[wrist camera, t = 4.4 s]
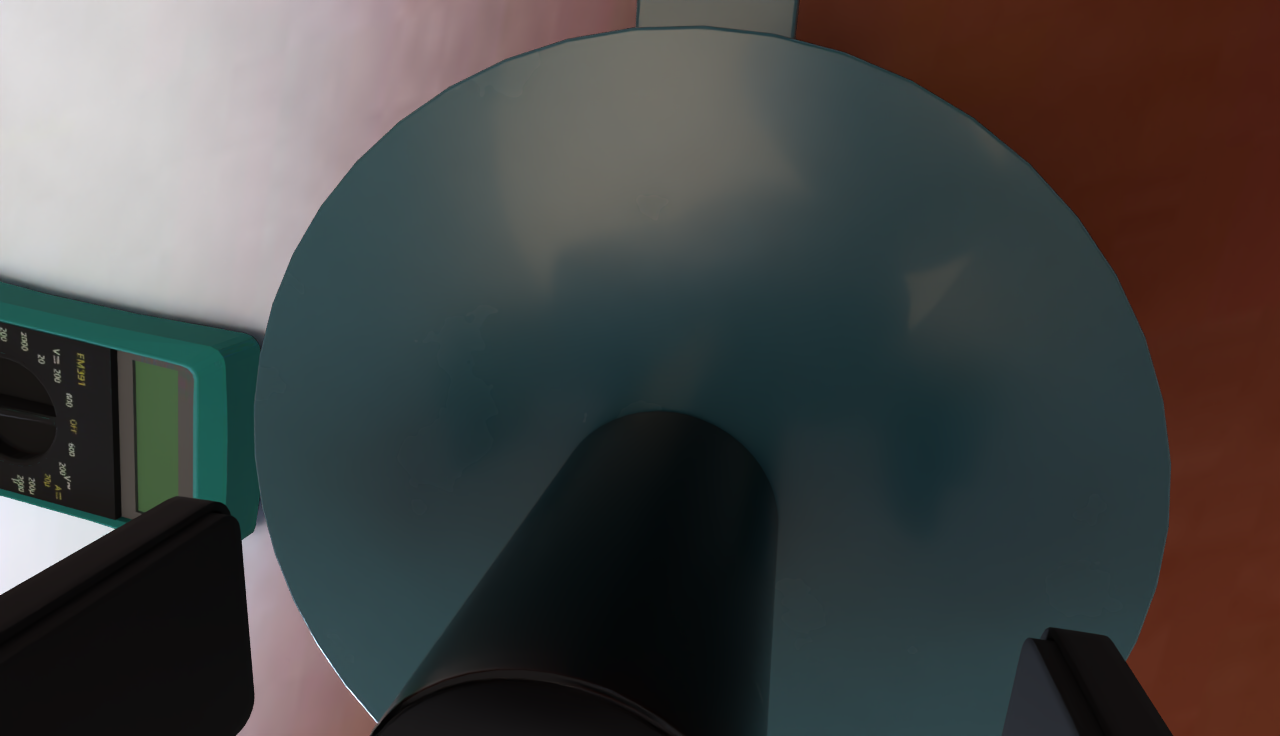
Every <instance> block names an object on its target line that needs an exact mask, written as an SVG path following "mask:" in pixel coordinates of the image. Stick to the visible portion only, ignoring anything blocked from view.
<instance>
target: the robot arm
mask: <svg viewBox="0 0 1280 736" xmlns="http://www.w3.org/2000/svg"><path fill="white" fill-rule="evenodd" d="M253 705H254V684H253V672H252V660H251V648H250V636H249V624H248V612H247V600H246V589H245V577H244V565H243V553H242V541H241V529H240V525H239V522H238V520H237V519H236V518H235V517H233V516H231V513H230V511H229V509H228V507H227V506H226V505H224V504H223V503H221V502H216V501H210V500H203V499H196V498H190V497H183V496H175V497H172V498H170V499H167V500H166V501H164V502H162V503H160V504H159V505H157V506H155V507H153V508H152V509H150V510H148V511H146V512H145V513H143V514H141V515H139V516H138V517H136V518H134V519H132V520H131V521H129V522H127V523H125V524H124V525H122V526H120V527H118V528H117V529H115V530H113V531H111V532H110V533H108V534H106V535H105V536H103V537H101V538H99V539H98V540H96V541H94V542H92V543H91V544H89V545H87V546H85V547H84V548H82V549H80V550H78V551H77V552H75V553H73V554H71V555H70V556H68V557H66V558H64V559H63V560H61V561H59V562H57V563H56V564H54V565H52V566H50V567H49V568H47V569H45V570H43V571H42V572H40V573H38V574H36V575H35V576H33V577H31V578H29V579H28V580H26V581H24V582H22V583H21V584H19V585H17V586H15V587H14V588H12V589H10V590H9V591H7V592H5V593H3V594H2V595H0V736H236V735H237V734H238V733H239V732H240V731H241V730H242V728H243V727H244V726H245V724H246V723H247V721H248V719H249V717H250V715H251V712H252V709H253ZM1002 736H1173V735H1172V733H1171V732H1170V730H1169V729H1168V727H1167V725H1166V724H1165V722H1164V721H1163V719H1162V718H1161V716H1160V715H1159V713H1158V711H1157V710H1156V708H1155V707H1154V705H1153V704H1152V702H1151V700H1150V699H1149V697H1148V696H1147V694H1146V693H1145V691H1144V690H1143V688H1142V686H1141V685H1140V683H1139V682H1138V680H1137V679H1136V677H1135V676H1134V674H1133V672H1132V671H1131V669H1130V668H1129V666H1128V665H1127V663H1126V661H1125V660H1124V658H1123V657H1122V655H1121V654H1120V652H1119V651H1118V649H1117V647H1116V646H1115V644H1114V643H1113V641H1112V640H1111V639H1110V638H1109V637H1108V636H1105V635H1100V634H1094V633H1087V632H1080V631H1074V630H1067V629H1060V628H1054V627H1048V628H1047V629H1045V631H1044V632H1043V634H1042V635H1041V638H1040V639H1035V638H1027V639H1026V640H1025V642H1024V643H1023V646H1022V649H1021V653H1020V657H1019V661H1018V666H1017V670H1016V675H1015V679H1014V683H1013V688H1012V692H1011V697H1010V701H1009V705H1008V710H1007V714H1006V718H1005V723H1004V727H1003V732H1002Z"/></svg>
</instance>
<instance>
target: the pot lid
mask: <svg viewBox="0 0 1280 736" xmlns="http://www.w3.org/2000/svg"><path fill="white" fill-rule="evenodd" d="M254 435H255V461H256V468H257V475H258V482H259V489H260V496H261V503H262V508H263V512H264V515H265V519H266V523H267V527H268V530H269V534H270V538H271V541H272V545H273V549H274V552H275V556H276V558H277V561H278V563H279V566H280V568H281V571H282V573H283V576H284V578H285V581H286V583H287V586H288V588H289V591H290V593H291V596H292V598H293V601H294V602H295V604H296V606H297V608H298V610H299V612H300V614H301V616H302V617H303V619H304V621H305V623H306V625H307V627H308V629H309V630H310V632H311V634H312V636H313V638H314V640H315V642H316V643H317V645H318V647H319V648H320V649H321V651H322V652H323V654H324V655H325V657H326V658H327V660H328V661H329V663H330V664H331V666H332V667H333V668H334V670H335V671H336V673H337V674H338V676H339V677H340V679H341V680H342V682H343V683H344V684H345V686H346V687H347V688H348V689H349V690H350V692H351V693H352V694H353V695H354V696H355V697H356V699H357V700H358V701H359V702H360V703H361V705H362V706H363V707H364V708H365V709H366V710H367V712H368V713H369V714H370V715H371V716H372V717H373V719H374V720H375V721H376V722H377V725H376V726H375V728H374V729H373V731H372V732H371V734H370V736H1002V732H1003V727H1004V723H1005V718H1006V714H1007V710H1008V705H1009V701H1010V697H1011V692H1012V688H1013V683H1014V679H1015V675H1016V670H1017V666H1018V661H1019V657H1020V653H1021V649H1022V646H1023V643H1024V642H1025V640H1026V639H1027V638H1035V639H1040V638H1041V635H1042V634H1043V632H1044V631H1045V629H1047V628H1048V627H1054V628H1060V629H1067V630H1074V631H1080V632H1087V633H1094V634H1100V635H1105V636H1108V637H1109V638H1110V639H1111V640H1112V641H1113V643H1114V644H1115V646H1116V647H1117V649H1118V651H1119V652H1120V654H1121V655H1122V657H1123V658H1124V660H1125V661H1126V660H1127V658H1128V656H1129V655H1130V653H1131V651H1132V649H1133V647H1134V645H1135V644H1136V642H1137V639H1138V637H1139V634H1140V631H1141V628H1142V626H1143V623H1144V620H1145V617H1146V615H1147V612H1148V609H1149V606H1150V604H1151V601H1152V598H1153V595H1154V593H1155V590H1156V587H1157V583H1158V578H1159V573H1160V568H1161V563H1162V558H1163V553H1164V548H1165V543H1166V537H1167V532H1168V527H1169V503H1170V476H1171V460H1170V452H1169V443H1168V435H1167V427H1166V419H1165V411H1164V402H1163V398H1162V394H1161V391H1160V387H1159V384H1158V380H1157V377H1156V373H1155V370H1154V366H1153V363H1152V359H1151V356H1150V352H1149V349H1148V345H1147V342H1146V338H1145V335H1144V333H1143V331H1142V329H1141V327H1140V325H1139V322H1138V320H1137V318H1136V316H1135V314H1134V312H1133V309H1132V307H1131V305H1130V303H1129V301H1128V299H1127V297H1126V294H1125V292H1124V290H1123V288H1122V286H1121V284H1120V281H1119V279H1118V277H1117V275H1116V273H1115V272H1114V270H1113V269H1112V267H1111V266H1110V264H1109V263H1108V261H1107V260H1106V258H1105V257H1104V255H1103V254H1102V252H1101V251H1100V249H1099V248H1098V246H1097V245H1096V243H1095V242H1094V240H1093V239H1092V237H1091V236H1090V234H1089V233H1088V231H1087V230H1086V228H1085V227H1084V225H1083V224H1082V222H1081V221H1080V219H1079V218H1078V216H1077V215H1076V214H1075V213H1074V212H1073V211H1072V210H1071V209H1070V207H1069V206H1068V205H1067V204H1066V203H1065V202H1064V201H1063V200H1062V199H1061V198H1060V196H1059V195H1058V194H1057V193H1056V192H1055V191H1054V190H1053V189H1052V188H1051V187H1050V185H1049V184H1048V183H1047V182H1046V181H1045V180H1044V179H1043V178H1042V177H1041V176H1040V174H1039V173H1038V172H1037V171H1036V170H1035V169H1034V168H1033V167H1032V166H1031V164H1030V163H1028V162H1027V161H1026V160H1025V159H1023V158H1022V157H1021V156H1020V155H1019V154H1017V153H1016V152H1015V151H1014V150H1012V149H1011V148H1010V147H1009V146H1008V145H1006V144H1005V143H1004V142H1003V141H1001V140H1000V139H999V138H998V137H997V136H995V135H994V134H993V133H992V132H991V131H989V130H988V129H987V128H986V127H984V126H983V125H982V124H981V123H980V122H978V121H977V120H976V119H975V118H973V117H972V116H970V115H968V114H967V113H965V112H963V111H962V110H960V109H958V108H957V107H955V106H953V105H952V104H950V103H948V102H947V101H945V100H943V99H942V98H940V97H938V96H937V95H935V94H933V93H932V92H930V91H928V90H927V89H925V88H924V87H922V86H920V85H919V84H917V83H915V82H914V81H912V80H910V79H907V78H905V77H903V76H900V75H898V74H895V73H893V72H891V71H888V70H886V69H884V68H881V67H879V66H877V65H874V64H872V63H869V62H867V61H865V60H862V59H860V58H858V57H855V56H853V55H850V54H848V53H846V52H843V51H839V50H835V49H831V48H828V47H824V46H820V45H816V44H812V43H808V42H805V41H801V40H797V39H793V38H789V37H786V36H782V35H778V34H774V33H765V32H757V31H748V30H739V29H731V28H722V27H714V26H705V25H699V26H662V27H633V28H627V29H621V30H615V31H610V32H604V33H598V34H592V35H586V36H581V37H575V38H569V39H565V40H562V41H559V42H556V43H553V44H550V45H547V46H544V47H541V48H538V49H535V50H532V51H528V52H525V53H522V54H519V55H516V56H513V57H510V58H507V59H505V60H502V61H500V62H498V63H496V64H494V65H492V66H490V67H488V68H486V69H484V70H482V71H480V72H478V73H476V74H474V75H472V76H470V77H468V78H466V79H464V80H462V81H460V82H458V83H456V84H454V85H452V86H450V87H448V88H447V89H445V90H444V91H443V92H441V93H440V94H438V95H437V96H435V97H434V98H432V99H431V100H430V101H428V102H427V103H425V104H424V105H422V106H421V107H419V108H418V109H417V110H415V111H414V112H412V113H411V114H409V115H408V116H406V117H405V118H404V119H402V120H401V121H399V122H398V123H397V124H396V125H395V126H394V127H393V128H392V129H391V130H390V131H389V132H387V133H386V134H385V135H384V136H383V137H382V138H381V139H380V140H379V141H378V142H377V143H376V144H375V145H374V146H373V147H371V148H370V149H369V150H368V151H367V152H366V153H365V154H364V155H363V156H362V157H361V158H360V159H359V160H358V161H357V162H356V163H355V164H354V165H353V167H352V168H351V169H350V170H349V172H348V173H347V174H346V175H345V177H344V178H343V179H342V180H341V182H340V183H339V184H338V185H337V187H336V188H335V189H334V190H333V192H332V193H331V194H330V195H329V197H328V198H327V199H326V200H325V202H324V203H323V204H322V205H321V207H320V209H319V210H318V212H317V214H316V215H315V217H314V219H313V221H312V222H311V224H310V226H309V227H308V229H307V231H306V233H305V234H304V236H303V238H302V239H301V241H300V243H299V245H298V246H297V248H296V250H295V251H294V253H293V255H292V258H291V260H290V262H289V265H288V267H287V270H286V272H285V275H284V277H283V280H282V282H281V285H280V287H279V289H278V292H277V294H276V297H275V299H274V302H273V304H272V308H271V312H270V316H269V320H268V324H267V328H266V332H265V336H264V340H263V344H262V348H261V352H260V357H259V366H258V375H257V384H256V392H255V401H254Z"/></svg>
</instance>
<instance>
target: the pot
mask: <svg viewBox="0 0 1280 736" xmlns="http://www.w3.org/2000/svg"><path fill="white" fill-rule="evenodd" d="M799 2H800V0H637V12H636V27H662V26H699V25H705V26H714V27H722V28H731V29H739V30H748V31H757V32H765V33H774V34H778V35H782V36H786V37H789V38H793V39H796V29H797V20H798V11H799Z"/></svg>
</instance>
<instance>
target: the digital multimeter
mask: <svg viewBox="0 0 1280 736" xmlns="http://www.w3.org/2000/svg"><path fill="white" fill-rule="evenodd" d="M260 352H261V351H260V346H259V344H258V342H257V341H256V340H255V338H254V337H252V336H250V335H248V334H246V333H241V332H235V331H229V330H224V329H218V328H213V327H207V326H202V325H196V324H191V323H185V322H180V321H174V320H169V319H163V318H158V317H152V316H147V315H141V314H136V313H131V312H126V311H122V310H117V309H113V308H108V307H104V306H99V305H95V304H90V303H85V302H81V301H76V300H72V299H67V298H63V297H58V296H53V295H49V294H45V293H41V292H37V291H34V290H30V289H26V288H22V287H19V286H15V285H11V284H8V283H4V282H0V496H4V497H8V498H11V499H15V500H18V501H22V502H25V503H29V504H32V505H36V506H39V507H43V508H47V509H50V510H54V511H57V512H61V513H64V514H68V515H71V516H75V517H78V518H82V519H86V520H89V521H93V522H96V523H99V524H102V525H105V526H108V527H111V528H114V529H117V528H118V527H120V526H122V525H124V524H125V523H127V522H129V521H131V520H132V519H134V518H136V517H138V516H139V515H141V514H143V513H145V512H146V511H148V510H150V509H152V508H153V507H155V506H157V505H159V504H160V503H162V502H164V501H166V500H167V499H170V498H172V497H175V496H183V497H190V498H196V499H203V500H210V501H216V502H221V503H223V504H224V505H226V506H227V507H228V509H229V511H230V513H231V516H233V517H235V518H236V519H237V520H238V522H239V525H240V529H241V540H243V539H244V538H246V537H247V536H248V535H250V534H251V533H253V532H254V529H255V526H256V520H257V513H258V506H259V499H260V489H259V482H258V475H257V468H256V461H255V435H254V401H255V392H256V384H257V375H258V366H259V357H260Z"/></svg>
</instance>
